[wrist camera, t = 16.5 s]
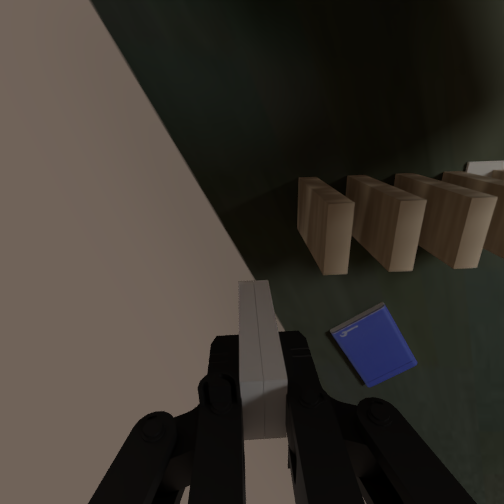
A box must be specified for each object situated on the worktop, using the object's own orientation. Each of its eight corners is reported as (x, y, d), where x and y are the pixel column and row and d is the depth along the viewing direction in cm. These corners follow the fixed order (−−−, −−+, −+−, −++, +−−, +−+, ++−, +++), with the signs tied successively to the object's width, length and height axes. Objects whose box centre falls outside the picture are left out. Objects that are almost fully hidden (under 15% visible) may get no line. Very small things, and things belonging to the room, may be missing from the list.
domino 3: (413, 173, 34) (497, 196, 23) (404, 223, 36) (476, 267, 25) (395, 173, 34) (472, 197, 23) (387, 224, 36) (453, 268, 25)
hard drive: (331, 334, 41) (368, 388, 45) (386, 305, 40) (419, 364, 44) (328, 327, 42) (364, 380, 47) (380, 299, 41) (413, 356, 45)
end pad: (537, 159, 34) (539, 159, 33) (514, 226, 37) (516, 227, 37) (467, 161, 33) (469, 162, 33) (451, 229, 37) (452, 230, 36)
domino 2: (365, 174, 34) (426, 199, 23) (359, 225, 36) (412, 270, 25) (347, 175, 34) (400, 200, 23) (342, 226, 36) (388, 272, 25)
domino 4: (460, 171, 34) (568, 193, 23) (448, 221, 36) (540, 264, 25) (443, 171, 34) (542, 195, 23) (432, 222, 36) (517, 265, 25)
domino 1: (316, 176, 33) (354, 202, 22) (313, 227, 36) (347, 273, 25) (298, 177, 33) (328, 204, 22) (297, 228, 36) (323, 275, 25)
